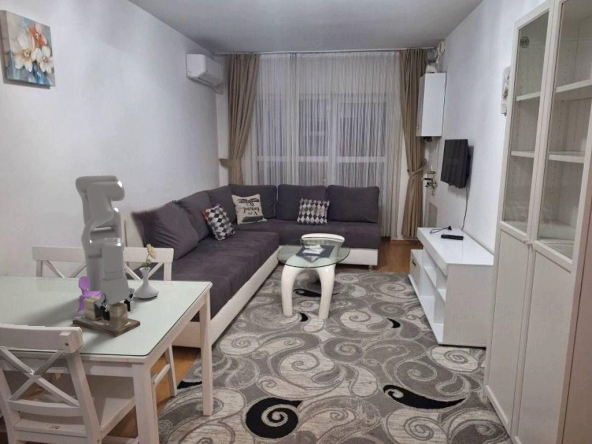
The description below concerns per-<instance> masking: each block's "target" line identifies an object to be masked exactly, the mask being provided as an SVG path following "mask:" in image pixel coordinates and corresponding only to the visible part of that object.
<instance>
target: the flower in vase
mask: <svg viewBox="0 0 592 444" xmlns="http://www.w3.org/2000/svg"><path fill="white" fill-rule="evenodd" d="M146 251H147V253H148V254H147V256H146V259H145V262H142V264H141V266H144V267H140V268H139V271H140V272H141V275H142V279H143V281H142V284H141V286H138V288H137V289H136V290H135V291H134V294H133V297H135V298H137V299H150V298H154V297H155V296H156V297H157V296H158V295H159V293H160V290H159V289H158V288H157V287H155V286H154V285H152V284H150V281H149V272H150V270H151V267H147V265H150V264H152V260H151V259H150V258H148V257H149V256H150V257H151V258H152V259H154V260H156V259H157V257H158V255H157V251H156V250H155V248H154V246H151V244H150V243H148V244H146Z"/></svg>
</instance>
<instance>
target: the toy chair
mask: <svg viewBox="0 0 592 444" xmlns="http://www.w3.org/2000/svg"><path fill="white" fill-rule="evenodd" d="M89 286H90V279H89V277H87V275H86V276H80V277H79V279H78V289H80V290H81V294H80V295H79V296H78V297H79V298H78V309H77V311H76V312H77V313H79V312H81V311H82V310H84V301H83V299H86V298H89V297H92V296H95V297H99V298H101V291H88V287H89Z"/></svg>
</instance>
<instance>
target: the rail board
mask: <svg viewBox="0 0 592 444" xmlns="http://www.w3.org/2000/svg"><path fill="white" fill-rule="evenodd" d="M99 299H100V298H99V297H95V296H92V297H89V298H86V299H83V301H84V308H83V310H84V311H83V312H84V315H83V316H80V315H78V316H77V315H76V316H75V317H74V319H72V324H73V325H75V326H80V327H83V328H85V329H89V330H91V331H95V332H98V333H101V334H105V335H108V336H111V337H114V338H116V337H118V336H121V335H122V334H124V333H127V332H128V331H130V330H133V329H135V328H137V327H139V326H141V321H140V320H136V319H133V318H129V317H128V323H127V324H125V325H123V326H121V327H116V326H113V325H109V324H108V321H107V320H104V319H103V312H102V310H100V309H99V308H98V307H97V305H96V304H95V303H96V302H97V301H98V300H99ZM101 304H102V305H103V303H101ZM138 325H139V326H138ZM136 326H137V327H136ZM134 327H135V328H134Z"/></svg>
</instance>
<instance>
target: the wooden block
mask: <svg viewBox="0 0 592 444" xmlns="http://www.w3.org/2000/svg"><path fill="white" fill-rule="evenodd" d="M108 311H110V321H108V324H109V325H113V326H116V327H121V326H123V325H125V324H127V323H128V318H129V317H128V316H129V315H128V311H127V304H124V303H123V302H121V301H120V302H118V303H115V304H113V305H111V306H110V308H109V309H108Z"/></svg>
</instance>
